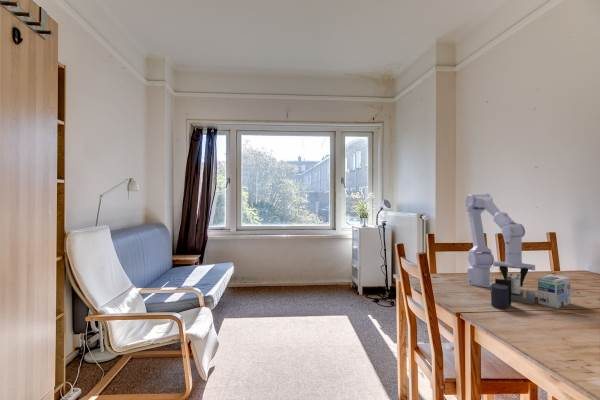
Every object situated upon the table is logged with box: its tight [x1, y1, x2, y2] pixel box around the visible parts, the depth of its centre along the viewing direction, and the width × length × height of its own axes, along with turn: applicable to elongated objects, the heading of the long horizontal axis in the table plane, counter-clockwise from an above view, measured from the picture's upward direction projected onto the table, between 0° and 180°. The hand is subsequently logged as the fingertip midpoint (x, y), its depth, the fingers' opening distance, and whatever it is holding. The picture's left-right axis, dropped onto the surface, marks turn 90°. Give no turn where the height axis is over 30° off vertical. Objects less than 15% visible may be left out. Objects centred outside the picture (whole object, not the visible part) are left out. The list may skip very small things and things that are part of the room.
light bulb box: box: [537, 274, 572, 309], centre depth 125 cm, size 11×7×11 cm, turn 118°
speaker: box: [490, 278, 512, 310], centre depth 124 cm, size 8×6×10 cm
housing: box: [506, 273, 522, 294], centre depth 133 cm, size 8×5×6 cm, turn 143°
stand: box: [511, 287, 536, 305], centre depth 134 cm, size 14×12×4 cm
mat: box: [521, 288, 538, 297], centre depth 141 cm, size 16×9×1 cm, turn 53°
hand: (513, 285), depth 134 cm, fingers closed on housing, 4 cm apart
